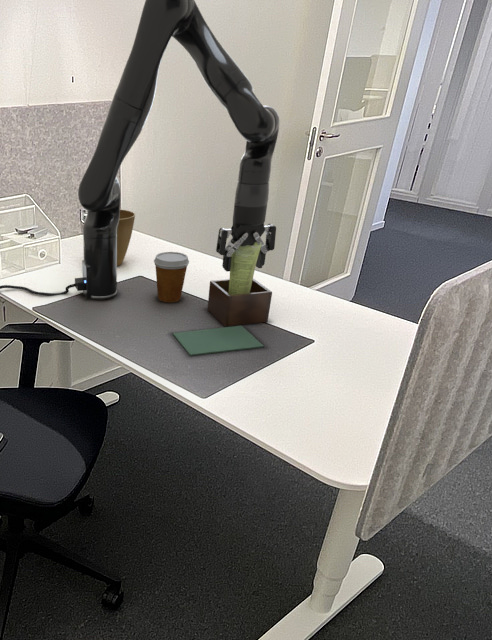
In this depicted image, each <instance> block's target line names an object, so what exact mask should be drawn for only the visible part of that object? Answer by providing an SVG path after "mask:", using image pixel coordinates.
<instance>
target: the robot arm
mask: <svg viewBox="0 0 492 640" xmlns="http://www.w3.org/2000/svg"><path fill="white" fill-rule="evenodd" d="M172 38H173V39H174V40H175V41H177V42H178V43H179V45H181V46H182V47H183V49H184V50H185V51H186V52H187V53H188V54H189V56H190V57H191V58H192V60H193V62H194V63H195V65H196V67H197V69H198V71H199V73H200V75H201V76H202V79H203V81H204V83H205V84H206V85H207V87H208V88H209V90H210V91H211V92H212V94H213V95H214V96H215V98H216V99H217V100H218V102H219V103H220V104H221V105H222V106H223V107H224V108H225V110H226V112H227V113H228V115H229V118H230V119H231V122H232V123H233V125H234V127H235V128H236V130H237V132H238V134H239V135H240V136H241V137H242V138H243V139H244V140H245V141H246V143H245V149H244V154H243V155H242V157H241V159H240V162H239V167H238V177H237V184H236V188H235V195H234V202H233V213H232V225H231V228H224V227H220V228H219V229H218V235H217V242H216V247H215V252H216V253H217V254H219V255H220V256H222V263H221V264H222V266H221V267H222V268H223V270H224V271H225V272H230V268H231V259H232V257H231V255H232V254H233V252H234V251H235V250H237V249H238V248H239V246H246V245H250V246H251V245H254V244H255V242H257V244H258V245H260V242H262V246H261V248H260V251H259V255H258V259H257V263H256V267H255V268H257V269H262V268H263V266H265V263H266V256H267V253H269V252H270V251H274V250H275V245H276V234H277V226H276V225H274V224H272V223H268V224H267V225H265V223H266V217H267V211H268V203H269V195H270V178H271V171H272V162H273V161H272V160H273V155H274V153H275V149H276V145H277V141H278V136H279V130H280V116H279V114H278V111H277V110H276V109H275V108H274V107H272V106H269V105H263V104H262V102H261V101H260V100H259V98H258V97H257V96H256V94H255V93H254V87H253V84H252V83H251V81H250V79H249V78H248V77H247V76H246V74H245V73H244V72H243V71H242V69H241V68H240V67H239V65H238V64H237V63H236V61H235V60H234V59H233V58H232V56H231V55H230V54H229V52H227V50H226V49H225V48H224V47H223V45H222V44H221V42H220V41H219V40H218V39H217V37H216V36H215V34H214V33H213V31H212V30H211V28H210V26H209V25H208V23H207V22H206V20H205V18H204V16H203V14H202V12H201V11H200V9H199V7H198V5H197V2H196V1H195V0H145V1H144V4H143V7H142V10H141V15H140V19H139V22H138V26H137V30H136V33H135V37H134V41H133V44H132V47H131V50H130V53H129V56H128V58H127V61H126V62H125V66H124V69H123V71H122V74H121V76H120V79H119V81H118V85H117V86H116V89H115V92H114V94H113V97H112V100H111V102H110V105H109V108H108V110H107V115H106V116H105V117H106V118H105V120H104V123H103V126H102V129H101V132H100V134H99V138H98V141H97V144H96V147H95V151H94V153H93V155H92V157H91V160H90V161H89V164H88V166H87V168H86V170H85V172H84V174H83V176H82V178H81V180H80V183H79V185H78V189H77V196H78V201H79V204H80V206H81V207H82V208H83V209H84V210H86V211H87V212H86V213H87V214H86V217H85V221H84V222H83V225H82V238H83V240H82V241H83V242H82V243H83V246H82V247H83V259H82V260H81V262H82V263H81V268H82V269H81V271H82V272H81V273H82V274H81V275H82V276H81V277H75V278H74V283H72V284H68V285H67V286H65V290H64V291H61V292H56V293H55V292H54V293H53V292H52V293H51V292H43V291H36V290H33V289H30V288H29V287H27V286H22V285H21V286H20V285H11V284H9V285H8V284H2V285H0V290H2V289H12V290H21V291H26V292H28V293H30V294H32V295H36V296H46V297H53V296H60V295H67V294H68V293H69V292H70V291H69V289H71V288H75V289H76V291H77V292H82V294H83V295H84V297H85V298H86V300H96V301H97V300H98V301H104V300H110V299H113V298H115V297H116V296H117V295H118V290H117V289H118V281H117V279H118V278H117V274H118V272H117V270H118V266H117V227H118V223H119V217H120V210H121V185H120V181H119V178H118V177H117V175H118V172H119V170H120V167H121V165H122V163H123V162H124V160H125V158H126V157H127V155H128V153H130V150H131V149H132V148H133V146H134V144H135V143H136V141H137V140H138V138H139V136H140V134H141V133H142V131H143V129H144V126H145V124H146V123H147V120H148V117H149V115H150V112H151V109H152V107H153V104H154V100H155V95H156V91H157V83H158V76H159V69H160V65H161V62H162V59H163V57H164V54H165V52H166V49H167V47H168V45H169V43H170V41H171V39H172ZM263 234H265V243H264V241H263V240H262V238H261V237H262V236H263ZM230 235H231V238H230V239H229V237H230ZM228 239H229V240H228ZM227 240H228V242H227ZM235 242H236V243H235ZM234 243H235V244H234Z"/></svg>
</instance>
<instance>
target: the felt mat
mask: <svg viewBox="0 0 492 640" xmlns="http://www.w3.org/2000/svg"><path fill="white" fill-rule="evenodd" d="M172 335H173V337H174V338H175V339H176V340H177V342H178V343H179V344H180V346H181V347H182V348H183V349H184V350H185V352H187V354H188V355H189V356H190V357H193V356H201V355H202V356H203V355H210V354H217V353H218V354H220V353H227V352H236V351H244V350H253V349H260V348H261V349H262V348H264V345H263V344H262V343H261V342H260V341H259V340H258V339H257V338H256V337H255V336H254V335H253V334H251V333H250V332H249V331H248V330H247V329H246V328H245V327H244V326H243V325H234V326H224V327H215V328H207V329H198V330H189V331H180V332H179V331H178V332H173V333H172Z"/></svg>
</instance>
